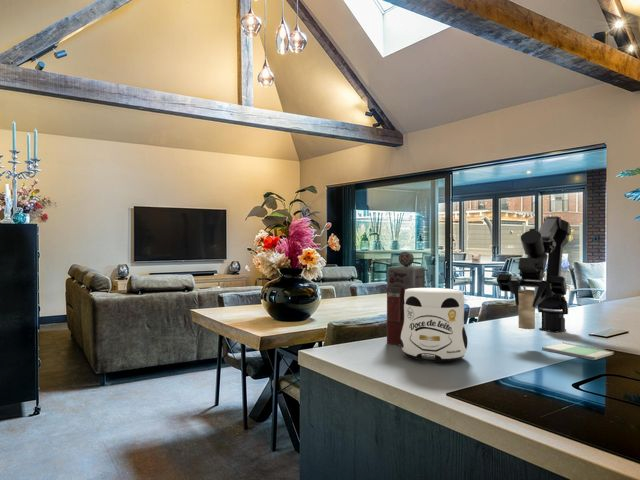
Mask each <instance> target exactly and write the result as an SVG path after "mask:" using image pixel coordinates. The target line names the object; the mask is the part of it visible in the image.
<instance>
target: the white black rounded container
mask: <svg viewBox="0 0 640 480" xmlns="http://www.w3.org/2000/svg"><path fill="white" fill-rule="evenodd" d="M404 303H405V304H404V325H403V328H402V332H401V345H400V346H401V350H402V352H403V353H404V354H405V355H406V356H408V357H410V358H413V359H416V360H419V361H425V362H434V363H444V362H453V361H457V360H460V359H463V357H464V356H466V353H467V348H468V335H467V332H466V328H465V320H464V319H465V306H464V305H465V298H464V291H463V290H460V289H453V288H443V287H425V288H410V289H406V290H405V295H404Z"/></svg>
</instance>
